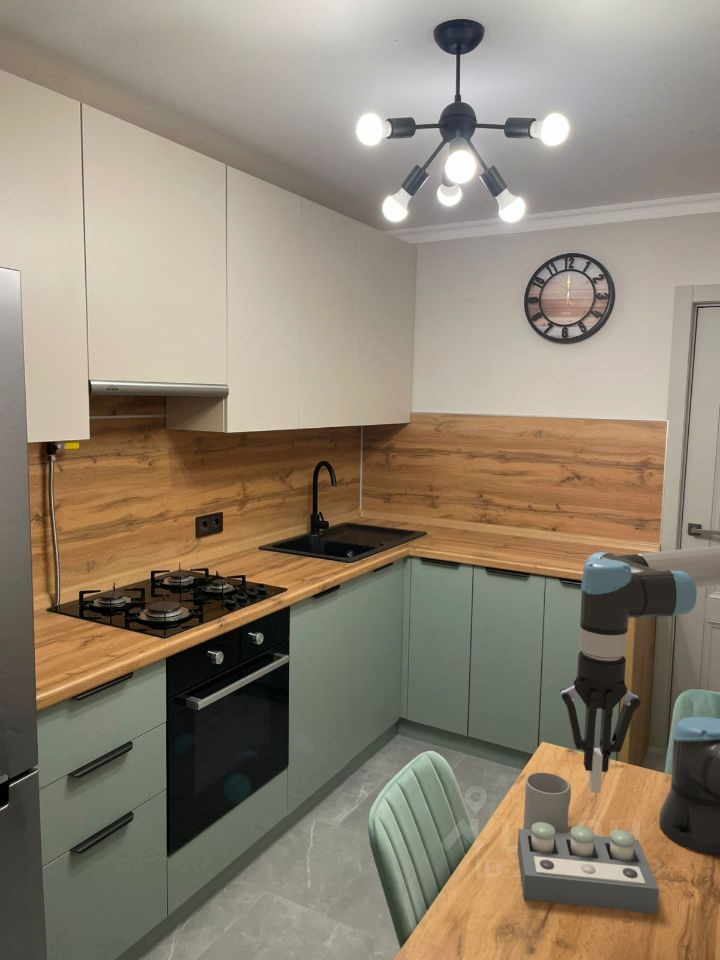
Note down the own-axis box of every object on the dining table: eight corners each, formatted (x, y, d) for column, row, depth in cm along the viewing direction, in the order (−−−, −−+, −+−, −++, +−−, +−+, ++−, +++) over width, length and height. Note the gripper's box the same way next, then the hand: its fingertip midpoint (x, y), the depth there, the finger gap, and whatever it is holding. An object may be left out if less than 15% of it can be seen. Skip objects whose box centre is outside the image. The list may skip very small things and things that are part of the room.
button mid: (591, 849, 134) (592, 827, 134) (595, 863, 130) (596, 840, 130) (567, 846, 135) (569, 824, 135) (571, 860, 131) (572, 838, 130)
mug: (551, 853, 138) (553, 799, 137) (514, 833, 145) (516, 781, 143) (585, 830, 146) (588, 778, 145) (549, 812, 152) (551, 762, 151)
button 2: (630, 852, 133) (631, 830, 133) (636, 867, 129) (637, 844, 129) (606, 850, 134) (608, 828, 134) (611, 864, 130) (612, 841, 129)
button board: (637, 862, 136) (638, 840, 135) (657, 914, 122) (658, 889, 122) (517, 850, 139) (518, 828, 138) (523, 899, 125) (525, 874, 125)
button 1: (552, 845, 135) (553, 823, 135) (555, 858, 131) (556, 836, 131) (529, 842, 136) (530, 821, 135) (531, 856, 132) (532, 834, 131)
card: (638, 868, 127) (638, 865, 127) (645, 884, 123) (645, 881, 123) (533, 857, 129) (533, 855, 129) (536, 873, 125) (536, 870, 125)
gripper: (637, 648, 124) (629, 780, 126) (558, 643, 125) (552, 773, 128) (648, 663, 116) (639, 803, 118) (565, 658, 118) (558, 796, 120)
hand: (594, 788), depth 123 cm, fingers closed
